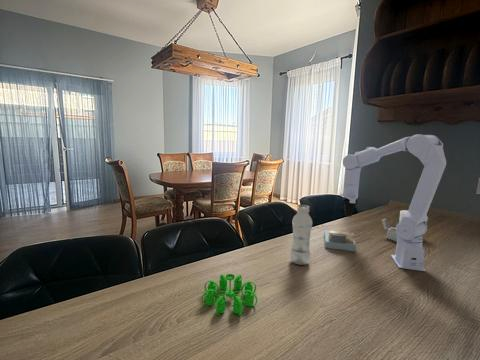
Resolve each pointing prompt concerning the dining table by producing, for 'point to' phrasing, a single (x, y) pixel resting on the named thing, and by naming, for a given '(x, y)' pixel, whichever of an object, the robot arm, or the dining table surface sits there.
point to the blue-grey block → (338, 242)
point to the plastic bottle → (301, 236)
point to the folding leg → (348, 234)
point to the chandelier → (229, 293)
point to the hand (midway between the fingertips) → (348, 216)
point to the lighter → (390, 231)
